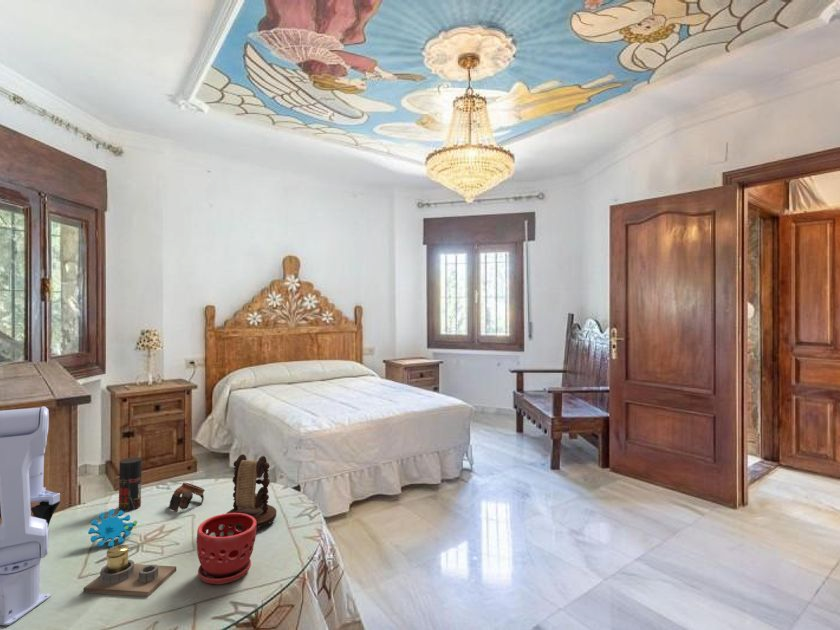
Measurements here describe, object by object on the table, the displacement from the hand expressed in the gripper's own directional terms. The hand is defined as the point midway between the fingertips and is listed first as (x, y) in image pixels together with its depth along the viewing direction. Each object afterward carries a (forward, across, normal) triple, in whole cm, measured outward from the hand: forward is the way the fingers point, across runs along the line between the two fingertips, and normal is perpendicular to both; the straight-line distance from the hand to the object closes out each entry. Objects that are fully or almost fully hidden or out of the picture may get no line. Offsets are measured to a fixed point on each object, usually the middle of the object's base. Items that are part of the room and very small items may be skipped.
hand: (26, 532), depth 106 cm
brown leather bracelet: (+10, -16, -38) cm, 43 cm away
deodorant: (+10, +1, -36) cm, 37 cm away
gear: (+10, -9, -16) cm, 21 cm away
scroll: (+10, -41, -30) cm, 52 cm away
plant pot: (+10, -47, -4) cm, 48 cm away
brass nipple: (+8, -23, +1) cm, 25 cm away
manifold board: (+9, -27, +1) cm, 29 cm away
